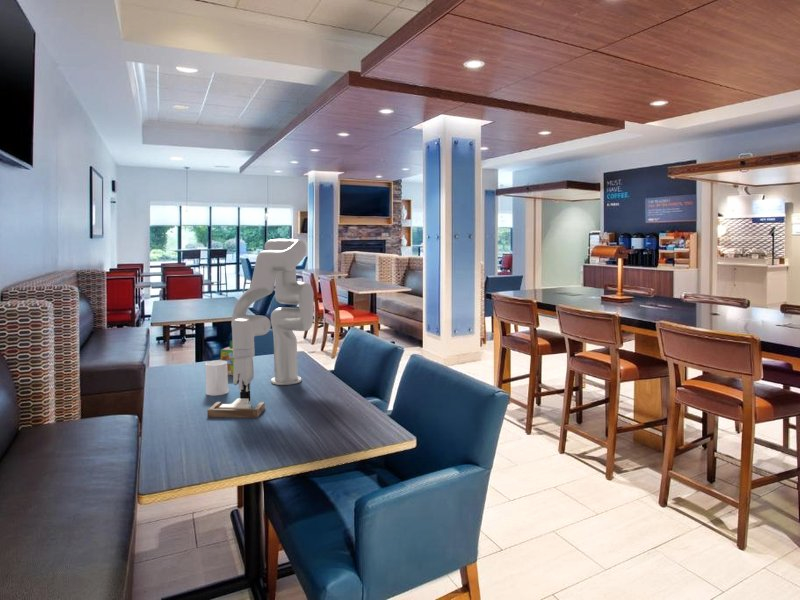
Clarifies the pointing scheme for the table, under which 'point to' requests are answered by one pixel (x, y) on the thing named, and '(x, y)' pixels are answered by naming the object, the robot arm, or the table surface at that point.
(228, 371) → the chalk box
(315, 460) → the table surface
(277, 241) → the robot arm
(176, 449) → the table surface
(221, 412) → the brown u-shaped bracket
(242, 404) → the t block
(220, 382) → the mug
